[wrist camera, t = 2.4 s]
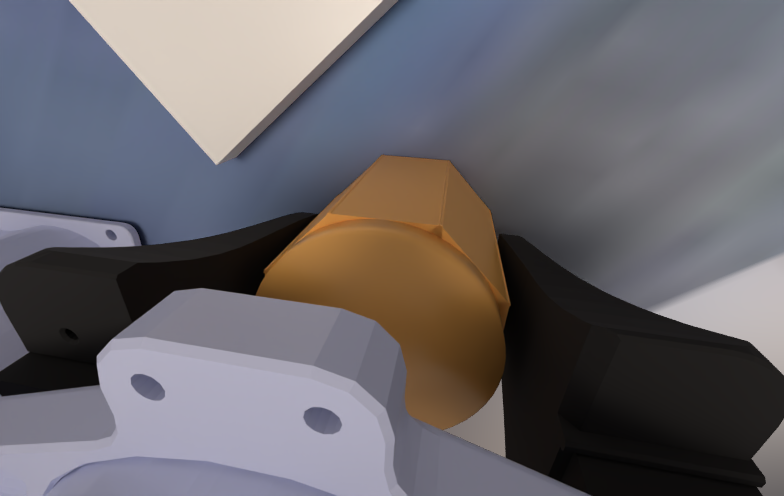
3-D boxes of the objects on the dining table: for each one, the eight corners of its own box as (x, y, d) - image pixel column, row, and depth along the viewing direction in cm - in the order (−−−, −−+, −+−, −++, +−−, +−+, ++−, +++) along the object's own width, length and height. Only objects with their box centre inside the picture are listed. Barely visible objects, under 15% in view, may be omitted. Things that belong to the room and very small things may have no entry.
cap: (340, 283, 15) (266, 414, 9) (336, 150, 12) (231, 217, 7) (473, 301, 14) (482, 455, 9) (499, 163, 12) (536, 252, 6)
